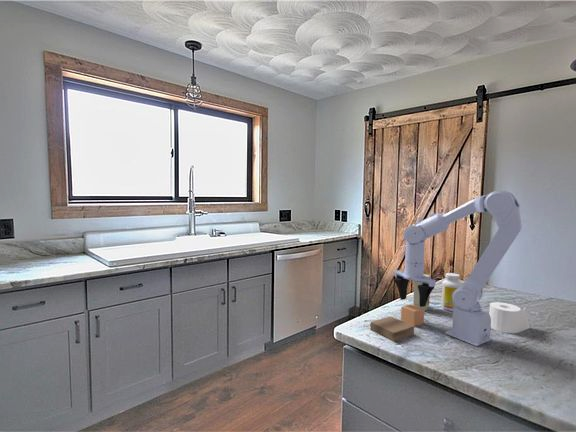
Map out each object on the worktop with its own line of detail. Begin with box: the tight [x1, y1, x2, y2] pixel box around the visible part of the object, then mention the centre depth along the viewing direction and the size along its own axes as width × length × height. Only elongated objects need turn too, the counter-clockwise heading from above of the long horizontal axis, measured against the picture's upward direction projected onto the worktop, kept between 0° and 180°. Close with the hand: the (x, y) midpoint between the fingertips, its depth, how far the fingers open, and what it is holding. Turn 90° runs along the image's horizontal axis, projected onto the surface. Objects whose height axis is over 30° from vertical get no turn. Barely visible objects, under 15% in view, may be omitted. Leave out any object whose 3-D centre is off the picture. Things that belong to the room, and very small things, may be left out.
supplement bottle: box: [440, 272, 463, 312], centre depth 119 cm, size 7×7×13 cm
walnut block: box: [369, 315, 415, 342], centre depth 99 cm, size 9×9×3 cm
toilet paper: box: [488, 301, 530, 334], centre depth 104 cm, size 8×11×7 cm
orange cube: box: [400, 303, 425, 327], centre depth 107 cm, size 5×5×5 cm
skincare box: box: [412, 273, 431, 312], centre depth 120 cm, size 6×4×12 cm
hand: (412, 302), depth 107 cm, fingers open, 7 cm apart
